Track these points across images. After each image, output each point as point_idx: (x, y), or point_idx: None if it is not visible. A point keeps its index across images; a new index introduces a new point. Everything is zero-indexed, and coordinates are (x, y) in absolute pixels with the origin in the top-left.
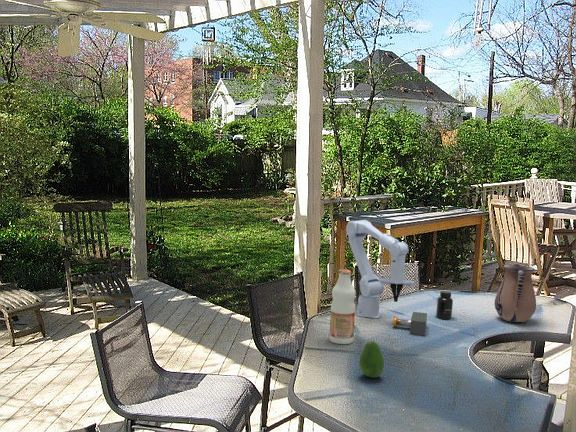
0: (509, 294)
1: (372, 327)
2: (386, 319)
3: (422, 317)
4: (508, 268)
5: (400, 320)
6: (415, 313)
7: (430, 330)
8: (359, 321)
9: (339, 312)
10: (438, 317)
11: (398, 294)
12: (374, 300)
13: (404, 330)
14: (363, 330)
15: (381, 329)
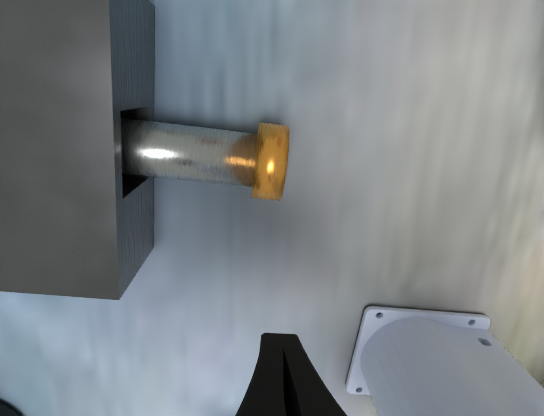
0: None
1: (425, 109)
2: (314, 307)
3: (3, 138)
4: None
5: (226, 142)
6: (90, 253)
7: None
8: (491, 221)
9: None
10: (6, 410)
11: (252, 400)
12: (450, 413)
13: (199, 101)
14: (505, 9)
15: (365, 77)
